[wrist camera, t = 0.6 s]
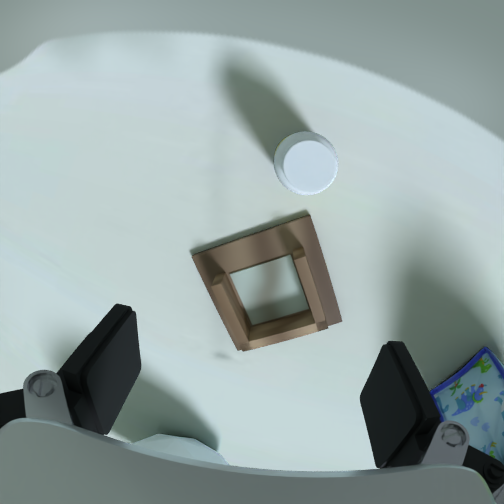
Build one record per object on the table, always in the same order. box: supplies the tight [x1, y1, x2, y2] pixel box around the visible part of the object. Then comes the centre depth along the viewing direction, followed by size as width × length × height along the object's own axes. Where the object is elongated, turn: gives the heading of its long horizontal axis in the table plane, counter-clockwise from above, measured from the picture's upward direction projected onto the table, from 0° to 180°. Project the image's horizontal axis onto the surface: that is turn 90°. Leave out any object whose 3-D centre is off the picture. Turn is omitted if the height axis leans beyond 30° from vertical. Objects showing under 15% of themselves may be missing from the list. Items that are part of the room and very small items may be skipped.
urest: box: [192, 215, 342, 351], centre depth 34 cm, size 14×14×4 cm
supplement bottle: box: [274, 131, 338, 195], centre depth 26 cm, size 5×5×10 cm
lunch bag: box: [430, 347, 504, 465], centre depth 29 cm, size 22×17×26 cm
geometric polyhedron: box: [132, 434, 229, 465], centre depth 39 cm, size 24×25×25 cm
